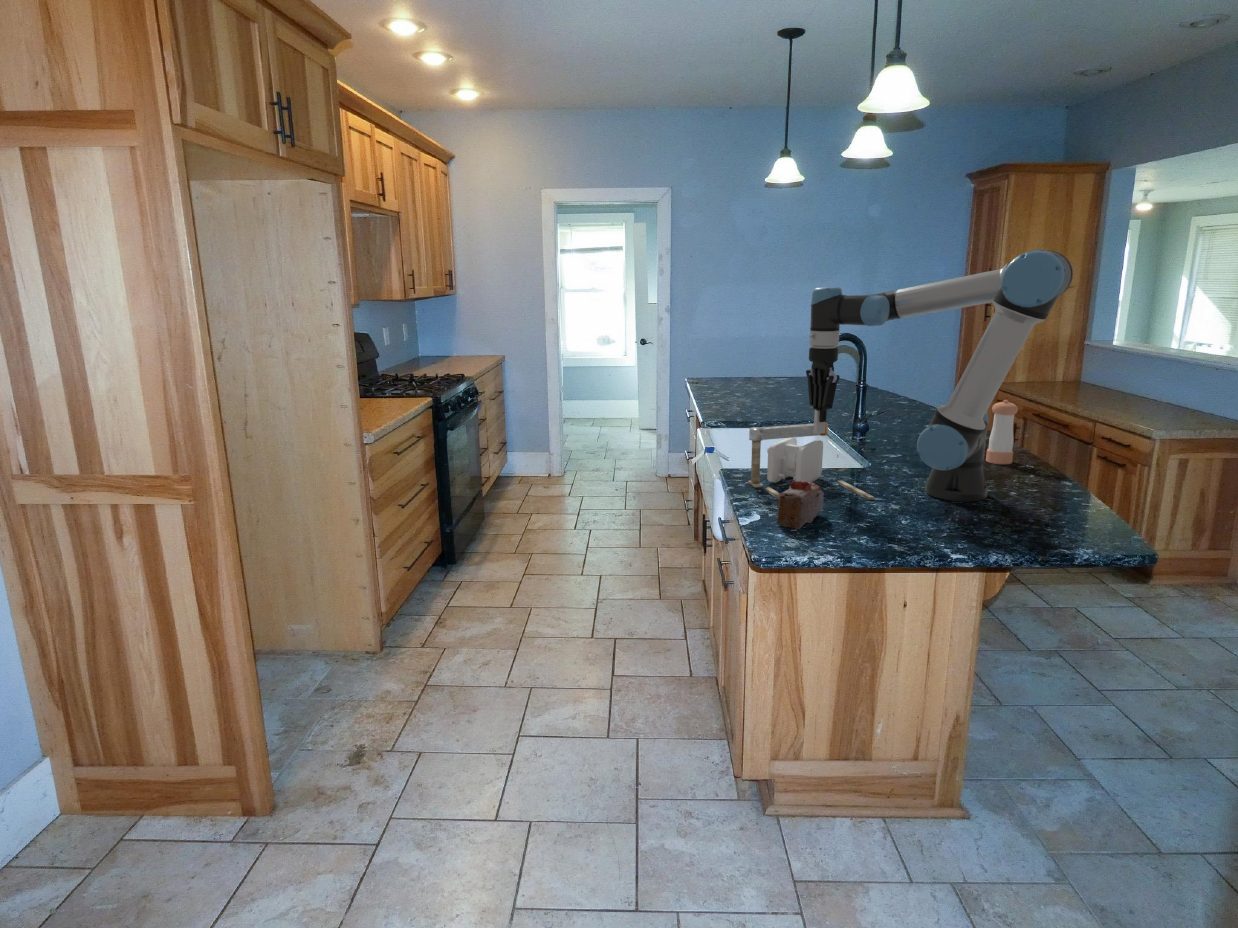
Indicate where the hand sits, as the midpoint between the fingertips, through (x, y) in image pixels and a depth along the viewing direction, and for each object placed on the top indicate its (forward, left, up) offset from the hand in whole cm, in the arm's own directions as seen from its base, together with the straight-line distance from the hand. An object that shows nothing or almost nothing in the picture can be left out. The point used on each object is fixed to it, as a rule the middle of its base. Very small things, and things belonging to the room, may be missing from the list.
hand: (819, 432), depth 202 cm
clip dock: (-4, +5, -15) cm, 16 cm away
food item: (-25, +18, -16) cm, 34 cm away
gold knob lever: (+6, +6, -2) cm, 9 cm away
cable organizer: (+6, +4, -16) cm, 17 cm away
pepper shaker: (+6, -65, -15) cm, 67 cm away
